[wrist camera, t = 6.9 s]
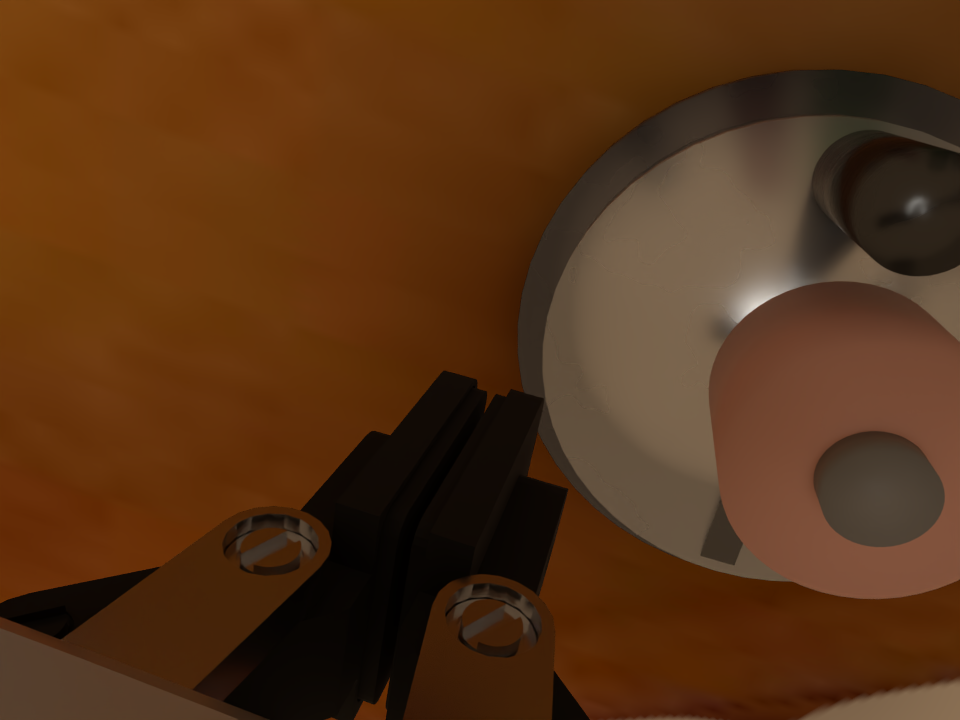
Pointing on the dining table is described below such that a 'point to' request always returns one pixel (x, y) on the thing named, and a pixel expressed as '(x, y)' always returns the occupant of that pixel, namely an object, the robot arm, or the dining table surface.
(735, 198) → the turntable
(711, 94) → the base
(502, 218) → the dining table surface
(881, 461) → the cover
